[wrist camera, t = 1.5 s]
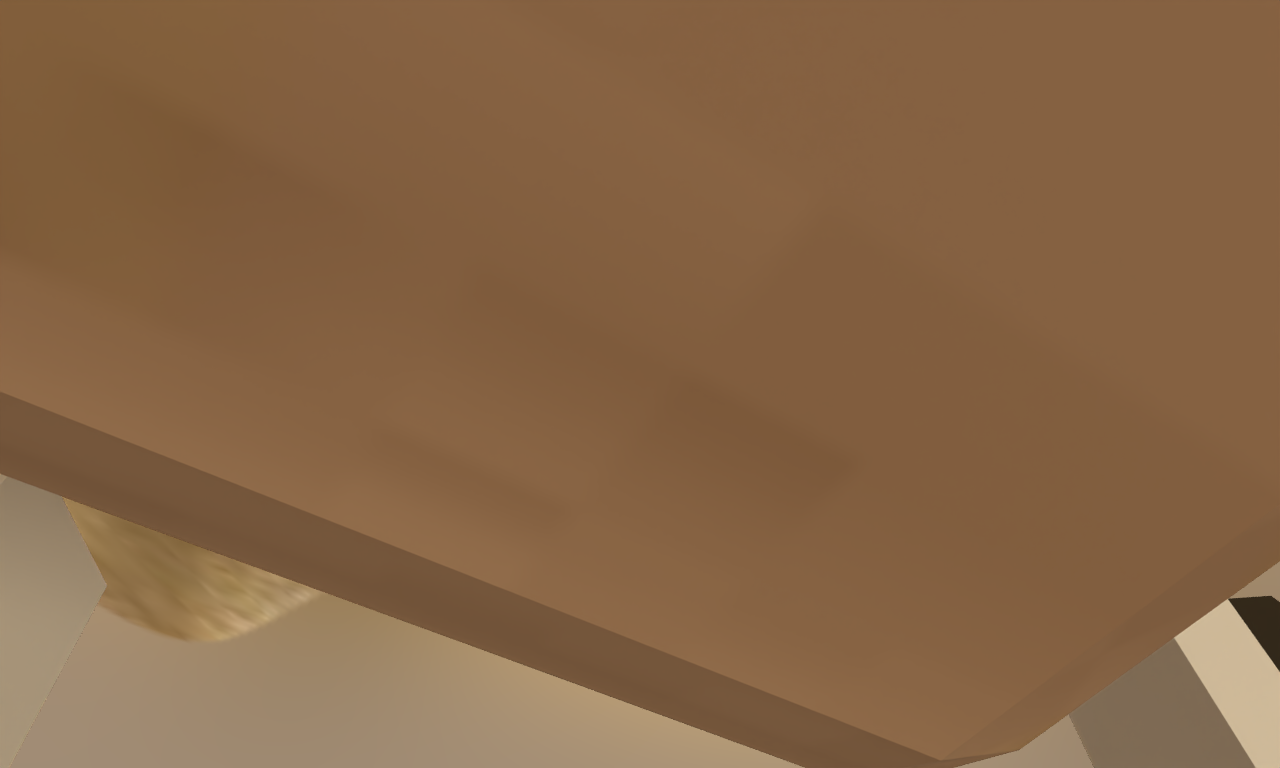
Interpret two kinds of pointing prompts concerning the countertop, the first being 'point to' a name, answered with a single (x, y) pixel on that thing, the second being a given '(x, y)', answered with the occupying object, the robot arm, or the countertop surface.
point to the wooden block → (673, 332)
